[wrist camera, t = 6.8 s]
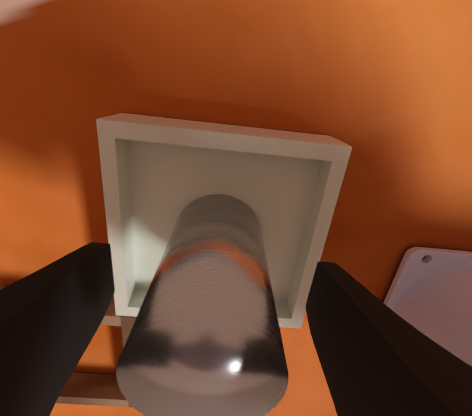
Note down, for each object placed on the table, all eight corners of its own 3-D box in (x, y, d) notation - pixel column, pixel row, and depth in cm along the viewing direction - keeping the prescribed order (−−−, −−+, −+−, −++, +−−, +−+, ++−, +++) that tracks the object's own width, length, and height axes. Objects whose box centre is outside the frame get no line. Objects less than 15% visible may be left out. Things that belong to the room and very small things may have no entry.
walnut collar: (142, 296, 16) (133, 317, 14) (146, 382, 19) (139, 407, 18) (2, 285, 15) (-22, 306, 14) (30, 376, 19) (13, 400, 17)
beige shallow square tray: (330, 135, 12) (352, 146, 10) (291, 295, 16) (300, 328, 14) (121, 112, 12) (95, 119, 9) (132, 282, 15) (115, 315, 13)
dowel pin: (271, 205, 12) (314, 337, 6) (247, 275, 14) (260, 439, 7) (183, 184, 12) (124, 302, 5) (169, 259, 13) (110, 419, 7)
